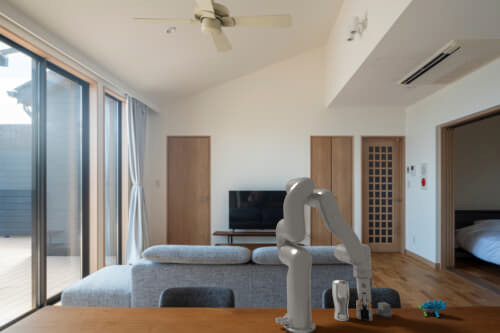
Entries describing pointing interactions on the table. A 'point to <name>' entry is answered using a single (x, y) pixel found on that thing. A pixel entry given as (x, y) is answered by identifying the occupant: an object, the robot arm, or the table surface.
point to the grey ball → (384, 310)
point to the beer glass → (341, 299)
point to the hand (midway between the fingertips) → (364, 316)
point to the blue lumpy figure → (433, 307)
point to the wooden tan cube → (360, 310)
